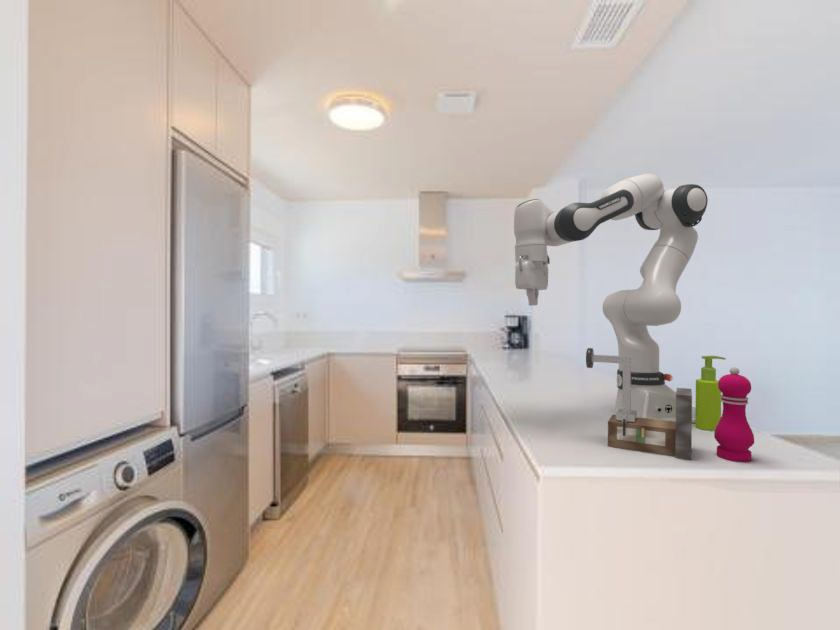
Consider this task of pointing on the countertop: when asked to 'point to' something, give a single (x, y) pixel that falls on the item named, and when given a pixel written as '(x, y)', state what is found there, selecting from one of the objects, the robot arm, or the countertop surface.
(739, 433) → the pepper mill
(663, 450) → the stand
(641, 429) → the peak needle
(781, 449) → the countertop surface
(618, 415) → the plunger
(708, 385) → the soap dispenser
